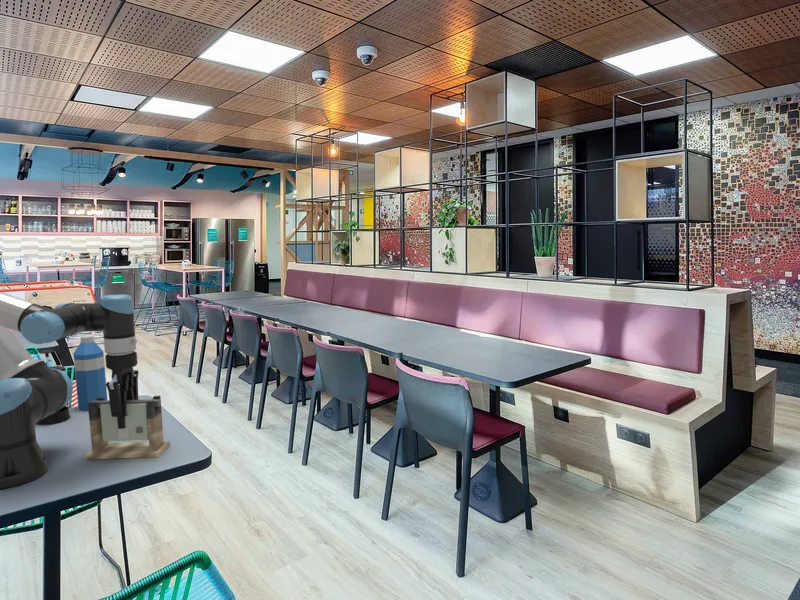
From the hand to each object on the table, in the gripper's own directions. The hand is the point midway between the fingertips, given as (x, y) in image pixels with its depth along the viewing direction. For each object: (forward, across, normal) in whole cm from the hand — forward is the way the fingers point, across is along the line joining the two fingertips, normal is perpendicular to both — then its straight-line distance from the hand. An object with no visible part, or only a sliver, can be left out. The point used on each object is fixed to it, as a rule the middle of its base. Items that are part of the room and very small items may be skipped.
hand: (127, 436), depth 145 cm
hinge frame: (+5, 0, 0) cm, 5 cm away
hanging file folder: (+1, 0, 0) cm, 1 cm away
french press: (+5, +28, +38) cm, 47 cm away
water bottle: (+5, +41, +31) cm, 52 cm away
